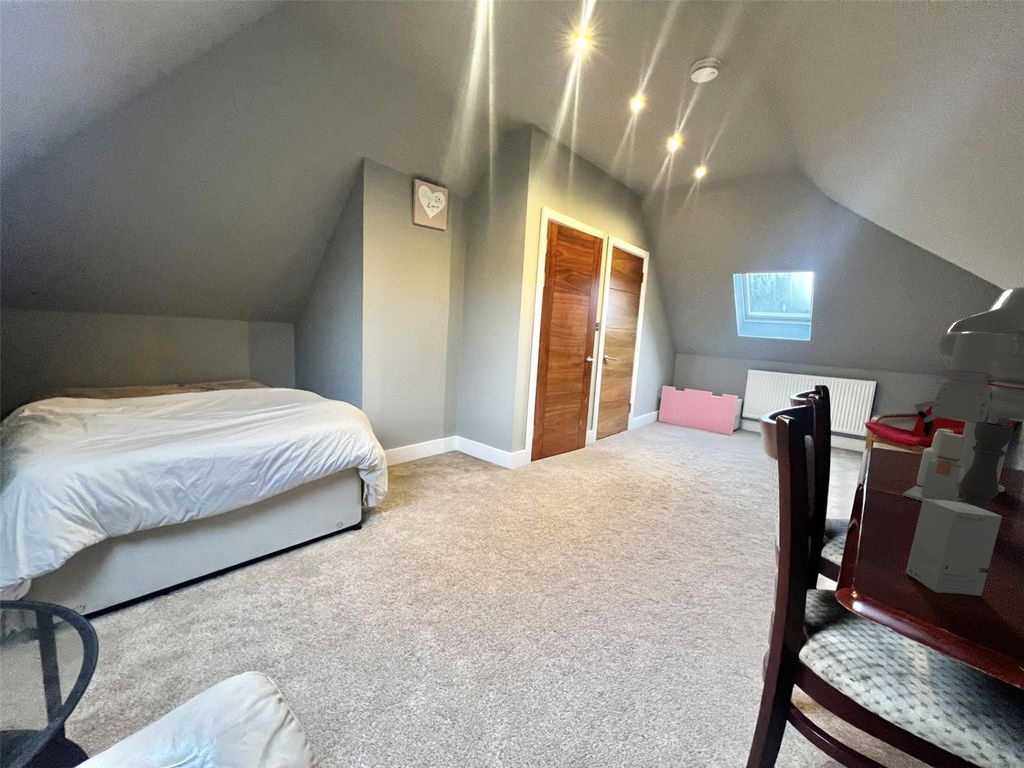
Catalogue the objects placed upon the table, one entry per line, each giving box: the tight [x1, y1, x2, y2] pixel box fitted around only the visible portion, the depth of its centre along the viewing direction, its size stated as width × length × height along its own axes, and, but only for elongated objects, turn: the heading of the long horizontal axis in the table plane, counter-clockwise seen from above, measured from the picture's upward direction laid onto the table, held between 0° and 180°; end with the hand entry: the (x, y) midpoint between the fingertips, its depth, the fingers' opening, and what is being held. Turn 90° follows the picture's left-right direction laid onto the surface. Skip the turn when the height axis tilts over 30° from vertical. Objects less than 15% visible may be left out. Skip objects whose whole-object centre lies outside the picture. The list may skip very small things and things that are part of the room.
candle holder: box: [957, 422, 1015, 513], centre depth 97 cm, size 6×6×25 cm
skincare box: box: [905, 499, 1003, 597], centre depth 72 cm, size 8×6×15 cm
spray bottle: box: [916, 428, 954, 488], centre depth 123 cm, size 7×7×18 cm
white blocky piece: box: [902, 458, 966, 502], centre depth 113 cm, size 12×12×12 cm
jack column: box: [937, 432, 965, 467], centre depth 112 cm, size 4×4×18 cm
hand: (952, 441), depth 111 cm, fingers open, 9 cm apart
